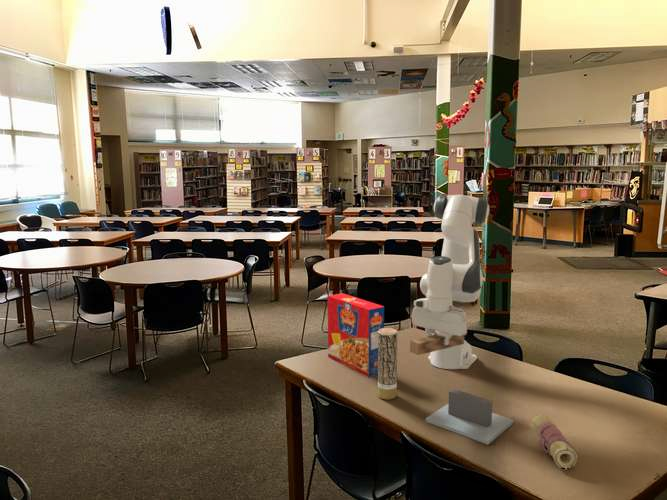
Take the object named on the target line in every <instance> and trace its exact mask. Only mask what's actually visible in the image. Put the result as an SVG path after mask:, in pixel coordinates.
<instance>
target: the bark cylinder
mask: <svg viewBox="0 0 667 500" xmlns="http://www.w3.org/2000/svg"><path fill="white" fill-rule="evenodd" d="M397 376H398V330H397V329H395V328H391V327H384V328H382V329H379V330H378V375H377V395H378V398H380V399H382V400H389V401H390V400H394V399H395V398H396V397H397V385H398V384H397V383H398V382H397V380H398V377H397Z"/></svg>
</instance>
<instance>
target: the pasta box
mask: <svg viewBox="0 0 667 500" xmlns="http://www.w3.org/2000/svg"><path fill="white" fill-rule="evenodd" d="M382 328H385V306H384V305H381V304H377V303H375V302H371V301H367V300H365V299H362V298H359V297H356V296H352V295H350V294H346V293H343V292H341V293H336V294H330V295H327V353H328V354H327V357H328V358H329V359H331V360H332V361H333V360H334V361H335V362H337V363H339V364H342V365H344V366H346V367H347V368H350V369H351V370H353V371H355V372H357V373H359V374H362V375H363V376H365V377H368V378H371V377H373V376H378V330H379V329H382Z"/></svg>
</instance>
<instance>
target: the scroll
mask: <svg viewBox="0 0 667 500" xmlns="http://www.w3.org/2000/svg"><path fill="white" fill-rule="evenodd" d="M531 429H532V430H533V431H534V432H535V433H536V434H537V438H538V439H537V440H538V442H539V444H540V446H541V447H542V449H543V450H544V452H545V453H546V454H548V455H549V456H550V457H552V458H553V460H554V463H555V464H556V465H557V467H558V468H559V469H562V468H565V467H566V468H569V467H570V468H572V467H573V468H574V467H575V465H576V463H577V461H578V454H577V452H576V451H575V450H574V449H573V448H572V447H571V444H570V442H569V441H568V440H567V439H566V437H565V436H564V434H563V432H561V430H560V429H559V428H558V427H557V425H556V424H554V423H553V422H552V419H551V418H550V416H548V415H547V414H546V413H545V414H544V413H542V414H538V415H536V416H535V417H534V418H533V420H532V421H531ZM561 467H562V468H561Z"/></svg>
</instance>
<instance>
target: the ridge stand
mask: <svg viewBox="0 0 667 500" xmlns="http://www.w3.org/2000/svg"><path fill="white" fill-rule="evenodd" d="M493 402H494V401H493V400H491V399H487V398H485V397H482V396H480V395H475V394H472V393H468V392H465V391H462V390H458V389H456V388H451V389H450V390H449V391H448V402H447V404H445V405H444V406H442V407H441V408H439V409H438V410H436V411H435V412H433V413H431V414H430V415H428V416H427V417H426V418H425V422H426V423H428V424H430V425H431V424H432V425H434V426H436V427H439V428H442V429H445V430H447V431H450V432H453V433H454V434H458V435H461V436H464V437H466V438H469V439H471V440H474V441H477V442H479V443H482V444H484V445H487V446H488V445H489V444H491V443H492V442H493V441H494V440H496V439H497V438H498V437H499V436H500V435H501V434H503V432H504V433H505V431H506V430H507V429H508V428H510V426H512V425H513V424H514V419H512V418H509V417H506V416H504V415H500V414H497V413H494V412H493Z"/></svg>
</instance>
